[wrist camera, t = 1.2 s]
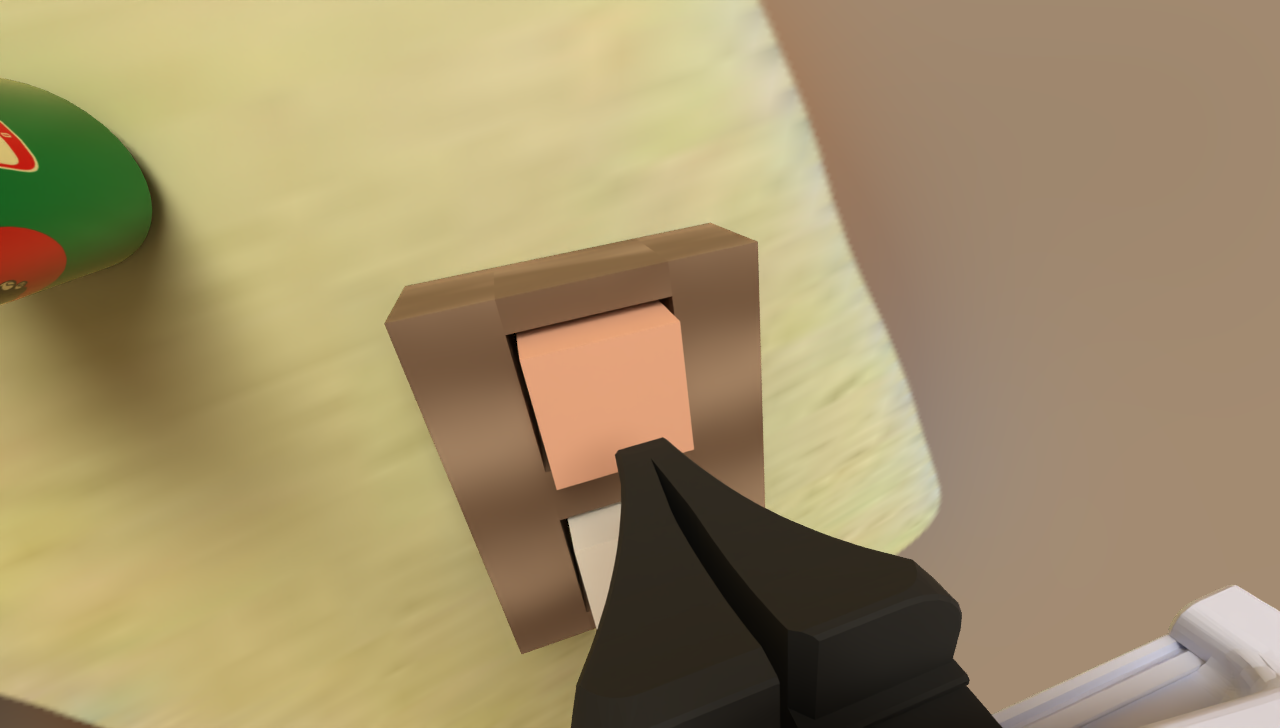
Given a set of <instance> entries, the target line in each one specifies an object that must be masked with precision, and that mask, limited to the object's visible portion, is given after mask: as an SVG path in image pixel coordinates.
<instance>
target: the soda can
mask: <svg viewBox="0 0 1280 728" xmlns="http://www.w3.org/2000/svg"><path fill="white" fill-rule="evenodd" d="M151 219H152V203H151V196H150V192H149V189H148V185H147V182H146V180H145V178H144V176H143V174H142V172H141V169H140V167H139V166H138V164H137V163H136V161H135V160H134V158H133V157H132V155H131V154H130V152H129V151H128V150H127V149H126V148H125V146H124V145H123V144H122V143H121V142H120V141H119V139H118V138H117V137H116V136H114V135H113V134H112V133H111V132H110V131H109V130H108V129H107V128H106V127H105V126H104V125H103V124H101V123H100V122H99V121H97V120H96V119H95V118H93V117H92V116H91V115H89V114H88V113H87V112H85V111H84V110H82V109H80V108H79V107H77V106H75V105H74V104H72V103H70V102H69V101H67V100H65V99H63V98H61V97H59V96H56V95H54V94H52V93H50V92H48V91H45V90H43V89H40V88H37V87H34V86H31V85H28V84H25V83H21V82H17V81H13V80H8V79H3V78H0V305H3V304H6V303H9V302H12V301H14V300H17V299H20V298H23V297H26V296H29V295H31V294H34V293H37V292H40V291H43V290H46V289H49V288H51V287H54V286H57V285H60V284H63V283H66V282H69V281H71V280H74V279H77V278H80V277H83V276H86V275H89V274H91V273H94V272H97V271H100V270H103V269H106V268H108V267H111V266H113V265H115V264H118V263H120V262H122V261H123V260H125V259H126V258H128V257H129V256H131V255H132V254H133V253H134V252H135V251H136V250H137V249H138V248H139V247H140V246H141V244H142V243H143V241H144V240H145V238H146V236H147V234H148V231H149V228H150V225H151Z"/></svg>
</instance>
